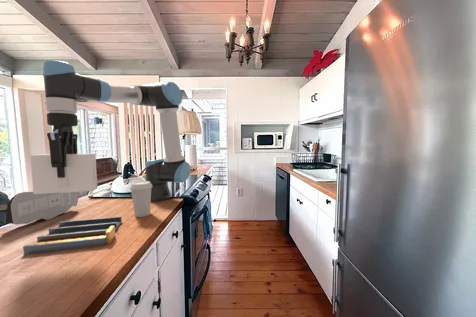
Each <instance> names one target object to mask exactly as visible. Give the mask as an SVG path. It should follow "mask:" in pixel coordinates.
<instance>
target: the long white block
mask: <svg viewBox="0 0 476 317" xmlns="http://www.w3.org/2000/svg"><path fill="white" fill-rule="evenodd" d="M30 166H31V167H30V168H31V176H32V179H31V180H32V192H33V193H34V194H45V193H64V192H79V193H80V192H94V191H95V190H97V189H98V174H97V173H98V172H97V156H96V153H78V154H66V167H68V178H69V187H68V188H58V184H57V170H56V167H52V165H51V157H50V153H49V154H48V153H46V154H45V153H41V154H40V153H39V154H30Z"/></svg>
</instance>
